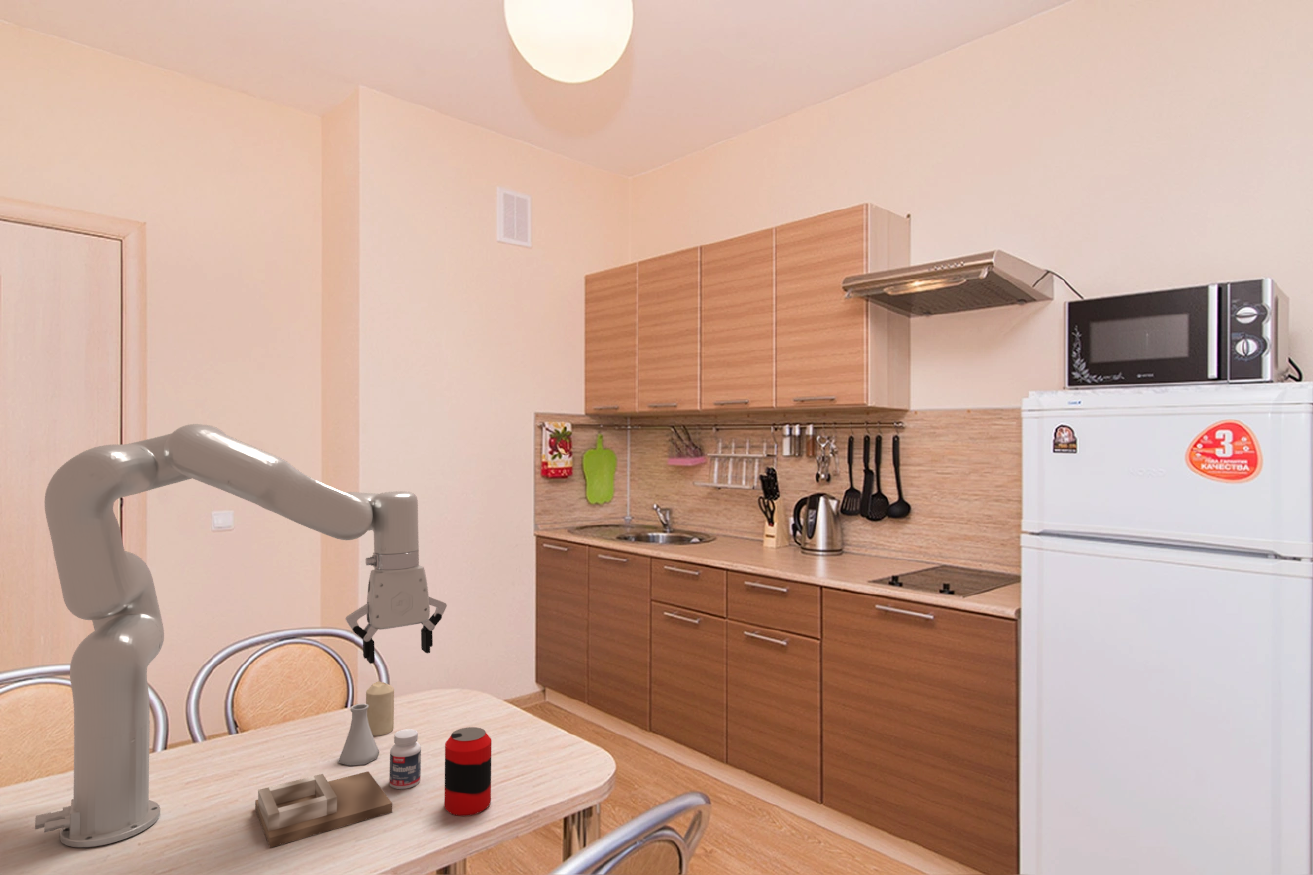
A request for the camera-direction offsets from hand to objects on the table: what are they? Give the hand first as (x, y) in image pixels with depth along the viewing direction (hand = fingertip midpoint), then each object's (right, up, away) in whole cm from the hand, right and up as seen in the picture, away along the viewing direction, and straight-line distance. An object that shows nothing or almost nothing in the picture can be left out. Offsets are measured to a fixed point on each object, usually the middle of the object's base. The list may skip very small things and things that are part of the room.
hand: (398, 656), depth 130 cm
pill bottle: (+1, -23, 0) cm, 23 cm away
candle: (-12, -23, +22) cm, 34 cm away
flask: (-11, -23, +9) cm, 27 cm away
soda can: (+14, -23, -8) cm, 28 cm away
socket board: (-9, -22, -10) cm, 26 cm away
